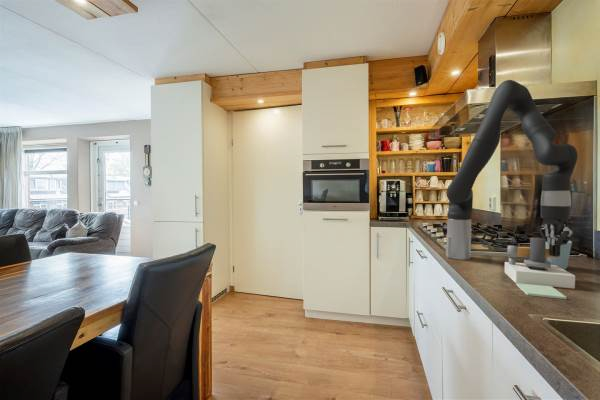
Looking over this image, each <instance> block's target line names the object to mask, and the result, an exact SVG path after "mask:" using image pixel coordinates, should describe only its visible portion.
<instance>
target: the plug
mask: <svg viewBox="0 0 600 400" xmlns="http://www.w3.org/2000/svg"><path fill="white" fill-rule="evenodd" d="M529 247H530V257H529V258H524V259H523V263H524V264H526V265H529V269H531V270H543V271H545V268H549V267H551V262H549V261H547V259H546V257H545V249H546V239H543V238H542V237H530V238H529Z"/></svg>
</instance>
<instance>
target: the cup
mask: <svg viewBox="0 0 600 400" xmlns="http://www.w3.org/2000/svg"><path fill="white" fill-rule="evenodd" d="M572 244H573V241H571V240H569V241H568V243H567V244H564V245H561V246H560V256H559V257H557V258H549V257H546V261H549V262H551V265H556V266H558V267H560V268H562V269H564V270H567V268H568V266H569V265H568V264H569V259H570V254H571V249H572ZM546 248H549V244H548V242H546Z"/></svg>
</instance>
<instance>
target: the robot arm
mask: <svg viewBox="0 0 600 400" xmlns="http://www.w3.org/2000/svg"><path fill="white" fill-rule="evenodd" d="M489 101H490V102H489V104H488V106H487V108H486V111H485V113H484V116H483V119H482V120H481V123H480V125H479V126H478V128H477V131H476V133H475V135H474V136H473V138H472V140H471V142H470V145H469V146H468V148H467V150H466V153H465V155H464V158H463V160H462V162H461V165H460V167H459V170H458V171H457V173H456V175H455V176H454V178H453V180H451V182H450V184H449V186H448V187H447V189H446V198H447V199H448V200H449V201H448V211H447V214H446V215H447V216H446V217H447V218H446V219H447V221H446V222H447V224H446V225H447V226H446V227H447V229H446V230H447V231H446V236H445V239H446V243H445V245H446V247H445V255H446V257H447V258H448V259H454V260H464V261H465V260H466V261H467V260H471V257H472V256H471V255H472V252H471V251H472V214H473V201H474V198H473V197H474V191H473V187H474V184H475V182H476V180H477V179H478V176H479V174H480V173H481V172H482V170H484V168H485V166H486V165H487V164H488V163H489V161H490V160H491V158H492V157H493V155H494V154H495V152H496V150H497V148H498V146H499V145H500V140H501V133H502V132H501V131H502V129H501V127H502V119H503V117H504V115H505V112H506V110H507V109H508V110H510V111H512V112H513V114H514V115H516V117H518V118H519V120H520V123H521V128H522V131H523V133H524V134H525V136H526V138H527V139H528V140H529V142H530V143H531V145H532V149H533V154H534V158H535V159H536V161H537V162H538V163H539V164H541V165H543V166H546V167H549V166H553V169H552V171H551V172H549V173H545V174H543V175H542V179H541V195H540V218H542V219H543V221H542V225H538V226H537V230H538V232H539V234H540V236H541V238H543V239H546V242H548V244H549V255H550V256H554V257H559V256H560V246H561V245H564V244H567V243H568V241H571V239H572V238H573V237H574V235H575V234H576V231H575V230H572V229H570V228H569V224H568V220H570V219H571V216H572V215H571V213H572V209H571V208H572V196H571V178H572V175H573V173H574V170H575V167H576V165H577V161H578V156H579V153H578V150H577V148H576V147H575V146H574V145H572V144H569V143H554V141H556V139H557V136H558V135H557V132H556V131H555V129H554V128H553V126H552V125H551V124H550V123H549V122H548V120H547V119H546V118H545V117H544V116H543V114H542V112H540V110H539V109H538V107H537V106H536V103H535V102H534V99H533V97H532V95H531V93H530V91H529V89H528V87H526V86H525V85H523V84H521V83H519V82H518V81H515V80H514V79H507V80H504V81H502V82H501V83H500V84H499V85H498V86H497V87H496V88H495V90H494V92H493V94H492V96H491V99H490V100H489Z"/></svg>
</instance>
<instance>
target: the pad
mask: <svg viewBox="0 0 600 400" xmlns="http://www.w3.org/2000/svg"><path fill="white" fill-rule="evenodd" d="M515 284H516V286H517V287H518V288H519V289H520V290H521V291H522V292H523V293H525V294H526V295H527V296H530V297H531V296H533V297H539V298H540V297H541V298H549V299H550V298H553V299H561V300H568V299H567V297H568V296H566V295H565V294H563V293H562V292H560V291H559V290H557V289H556V288H555V287H552V286H541V285H530V284H519V283H515Z"/></svg>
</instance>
